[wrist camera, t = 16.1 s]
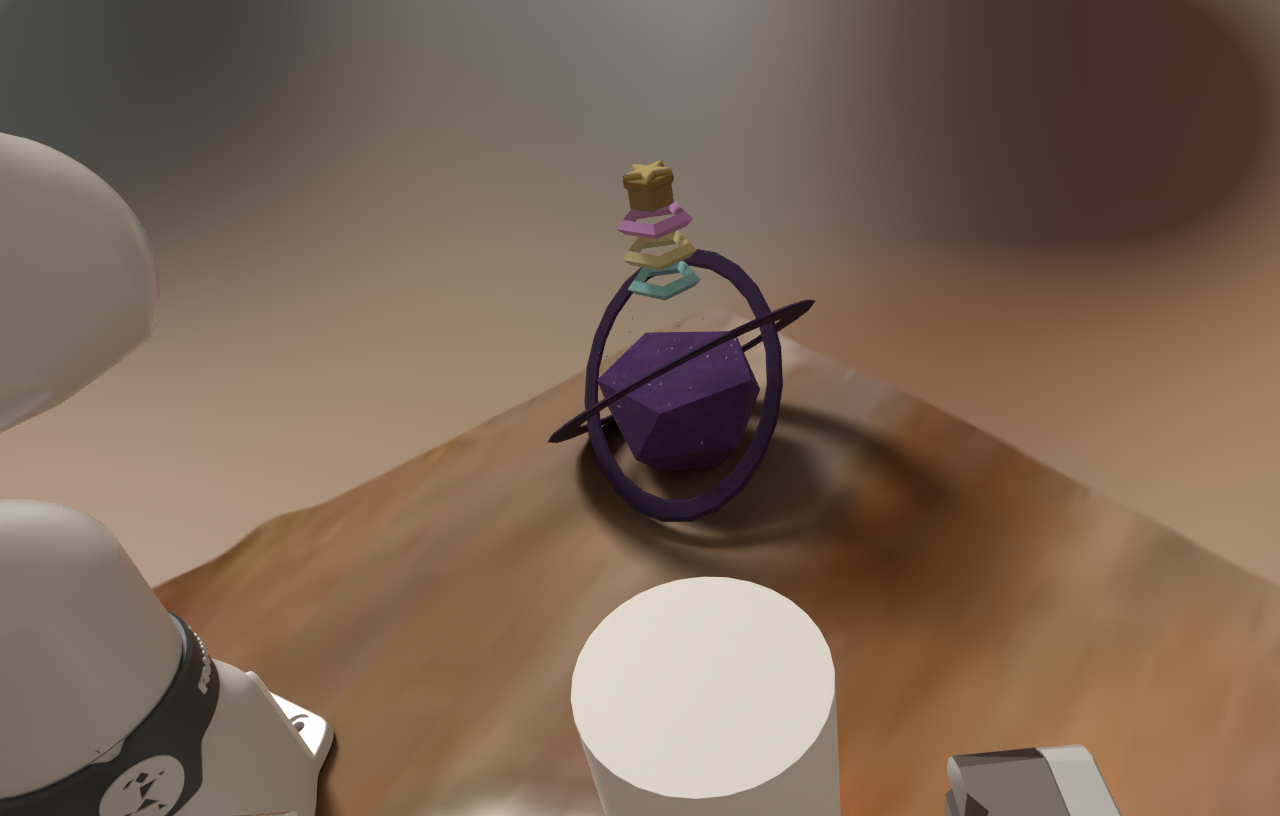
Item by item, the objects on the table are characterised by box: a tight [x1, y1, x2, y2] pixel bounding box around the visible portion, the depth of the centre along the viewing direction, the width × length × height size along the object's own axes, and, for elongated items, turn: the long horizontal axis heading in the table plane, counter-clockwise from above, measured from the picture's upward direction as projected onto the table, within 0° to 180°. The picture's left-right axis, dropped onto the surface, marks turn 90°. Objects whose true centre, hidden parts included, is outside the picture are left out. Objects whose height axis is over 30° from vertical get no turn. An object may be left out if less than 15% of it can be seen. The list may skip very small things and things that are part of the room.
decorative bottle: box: [548, 160, 815, 522], centre depth 67 cm, size 22×21×25 cm
